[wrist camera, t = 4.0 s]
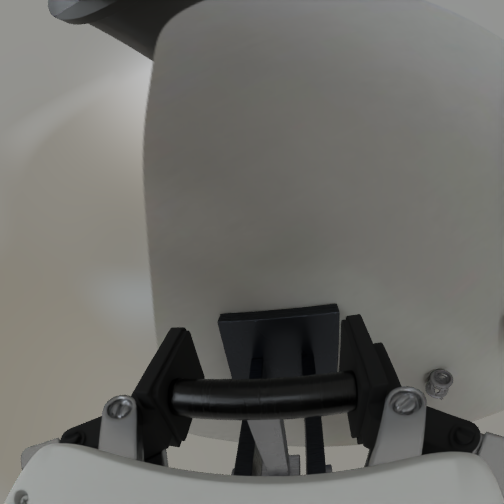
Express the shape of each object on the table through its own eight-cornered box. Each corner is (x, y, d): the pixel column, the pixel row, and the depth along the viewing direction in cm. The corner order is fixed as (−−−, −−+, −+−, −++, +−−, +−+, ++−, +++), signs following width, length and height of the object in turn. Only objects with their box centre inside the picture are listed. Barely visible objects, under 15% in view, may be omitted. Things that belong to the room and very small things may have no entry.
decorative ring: (447, 366, 22) (458, 384, 19) (441, 378, 22) (451, 397, 19) (427, 370, 22) (437, 390, 19) (421, 383, 23) (430, 402, 20)
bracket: (220, 313, 21) (170, 456, 9) (336, 303, 20) (379, 451, 8) (244, 408, 25) (226, 518, 13) (332, 402, 24) (345, 514, 12)
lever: (177, 360, 9) (158, 413, 7) (349, 350, 8) (363, 409, 6) (239, 468, 14) (236, 497, 12) (328, 464, 14) (330, 494, 11)
